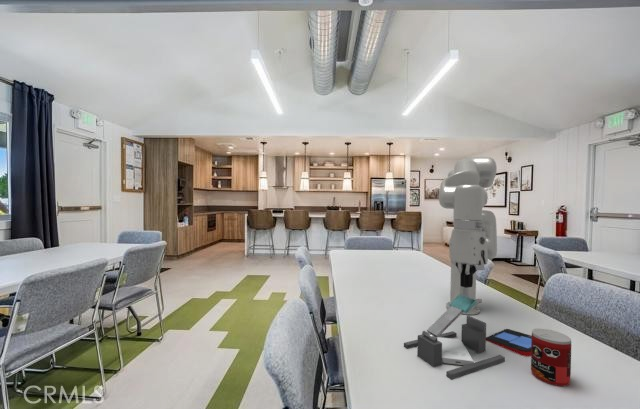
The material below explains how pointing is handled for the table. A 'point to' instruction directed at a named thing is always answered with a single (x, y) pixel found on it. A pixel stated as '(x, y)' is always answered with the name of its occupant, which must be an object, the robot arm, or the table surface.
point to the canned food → (551, 356)
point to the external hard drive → (454, 352)
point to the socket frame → (471, 339)
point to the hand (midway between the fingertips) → (466, 286)
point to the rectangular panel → (449, 316)
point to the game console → (512, 341)
